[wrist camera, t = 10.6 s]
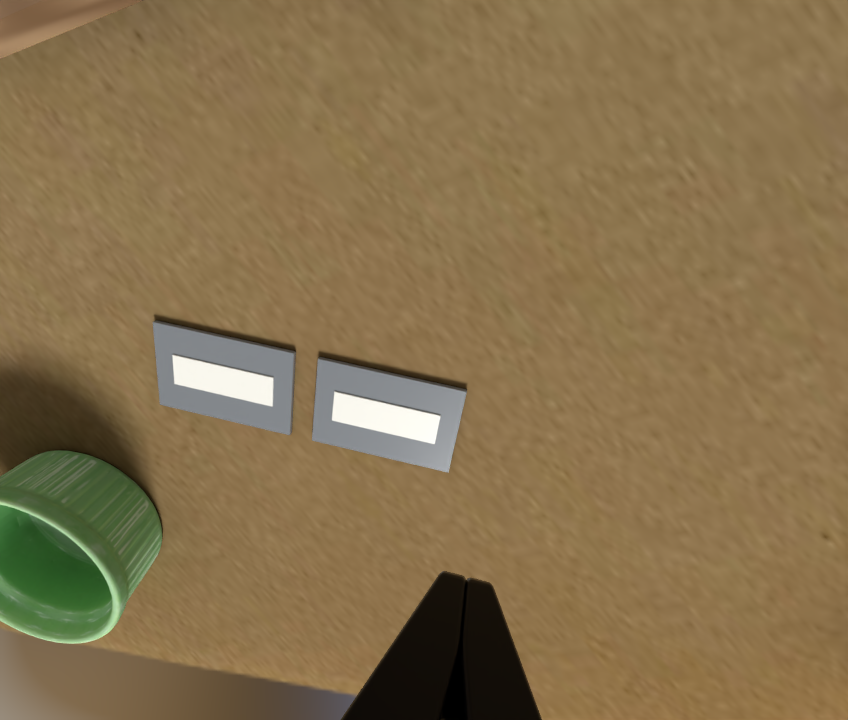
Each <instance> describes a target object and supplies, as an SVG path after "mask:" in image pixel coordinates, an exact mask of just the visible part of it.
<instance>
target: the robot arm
mask: <svg viewBox="0 0 848 720" xmlns="http://www.w3.org/2000/svg"><path fill="white" fill-rule="evenodd" d="M341 720H542V719H541V716H540V713H539V710H538V708H537V705H536V702H535V700H534V697H533V694H532V691H531V689H530V686H529V683H528V680H527V678H526V675H525V672H524V669H523V667H522V664H521V661H520V658H519V656H518V653H517V650H516V648H515V645H514V642H513V639H512V637H511V634H510V631H509V628H508V626H507V623H506V620H505V617H504V615H503V612H502V609H501V606H500V604H499V601H498V598H497V595H496V593H495V590H494V588H493V586H492V584H491V583H489V582H486V581H482V580H478V579H474V578H468V579H467V580H466V579H465V577H464V576H462V575H459V574H455V573H451V572H447V571H443V572H441V573H440V574H439V575H438V577H437V578H436V580H435V581H434V583H433V584H432V586H431V587H430V589H429V590H428V592H427V593H426V595H425V596H424V598H423V599H422V600H421V602H420V603H419V605H418V606H417V608H416V609H415V611H414V612H413V614H412V615H411V617H410V618H409V620H408V621H407V623H406V624H405V626H404V627H403V629H402V630H401V632H400V633H399V634H398V636H397V637H396V639H395V640H394V642H393V643H392V645H391V646H390V648H389V649H388V651H387V652H386V654H385V655H384V657H383V658H382V660H381V661H380V663H379V664H378V666H377V667H376V668H375V670H374V671H373V673H372V674H371V676H370V677H369V679H368V680H367V682H366V683H365V685H364V686H363V688H362V689H361V691H360V692H359V694H358V695H357V697H356V698H355V700H354V701H353V703H352V704H351V705H350V707H349V709H348V710H347V711H346V713H345V714H344V716H343V717H342V719H341Z"/></svg>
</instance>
